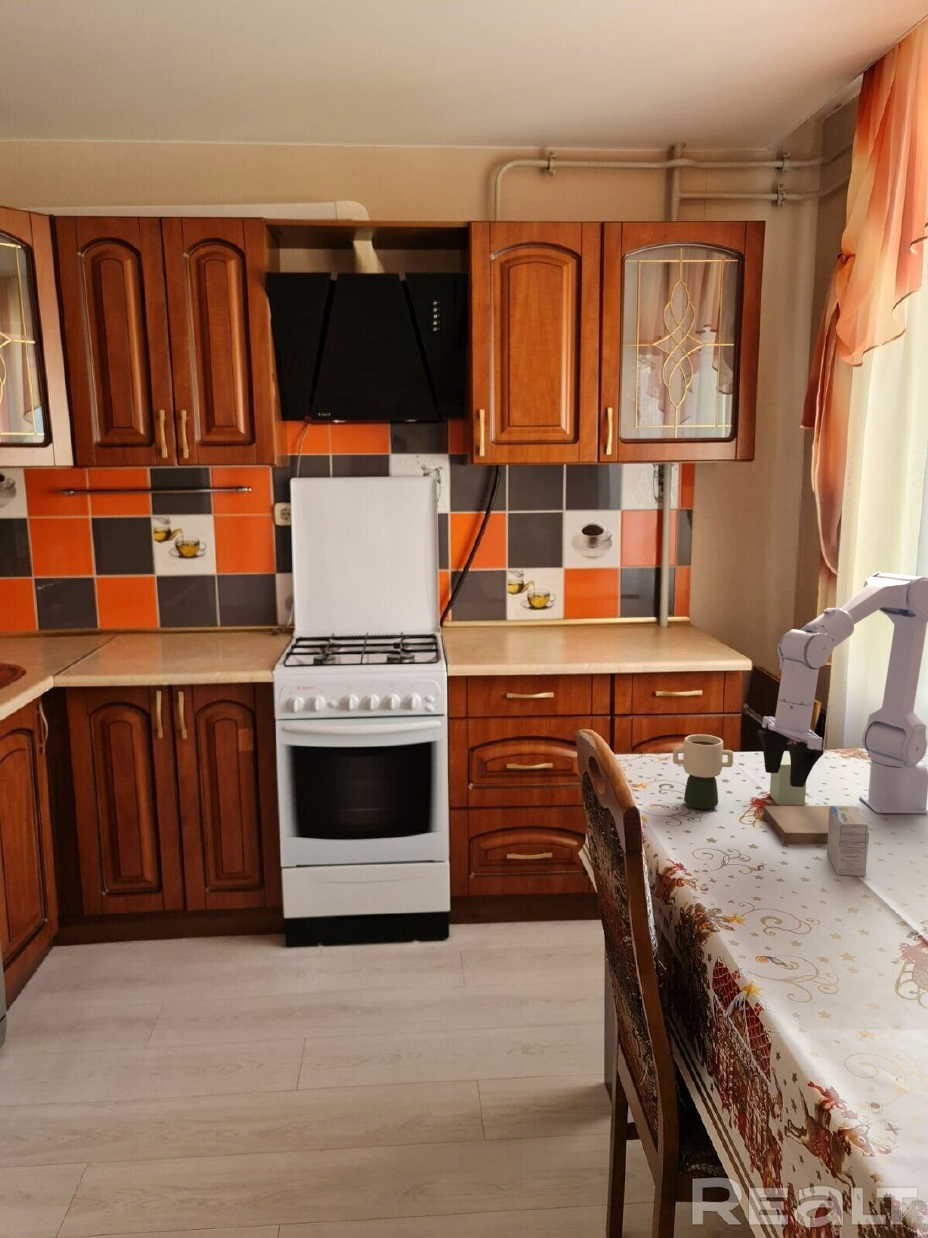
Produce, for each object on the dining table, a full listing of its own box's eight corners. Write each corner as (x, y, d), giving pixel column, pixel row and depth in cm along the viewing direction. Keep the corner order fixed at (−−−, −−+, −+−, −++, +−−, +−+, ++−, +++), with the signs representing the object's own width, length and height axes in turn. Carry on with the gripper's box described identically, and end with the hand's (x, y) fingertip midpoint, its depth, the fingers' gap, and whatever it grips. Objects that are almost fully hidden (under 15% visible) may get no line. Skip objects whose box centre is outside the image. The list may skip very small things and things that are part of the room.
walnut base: (840, 816, 161) (840, 806, 161) (868, 844, 150) (869, 833, 149) (763, 816, 162) (763, 805, 161) (784, 844, 150) (785, 832, 150)
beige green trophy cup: (729, 800, 169) (732, 735, 167) (732, 815, 162) (735, 747, 160) (670, 796, 172) (673, 732, 169) (671, 810, 165) (674, 744, 162)
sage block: (795, 795, 172) (797, 756, 171) (804, 805, 167) (807, 764, 166) (769, 795, 172) (771, 756, 171) (778, 805, 167) (780, 764, 166)
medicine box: (866, 878, 138) (870, 825, 136) (835, 875, 139) (839, 823, 137) (854, 856, 145) (858, 806, 144) (825, 854, 146) (829, 804, 145)
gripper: (751, 690, 155) (740, 765, 157) (799, 710, 141) (787, 792, 143) (787, 693, 157) (776, 767, 158) (838, 712, 143) (825, 793, 144)
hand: (783, 779), depth 150 cm, fingers open, 7 cm apart
